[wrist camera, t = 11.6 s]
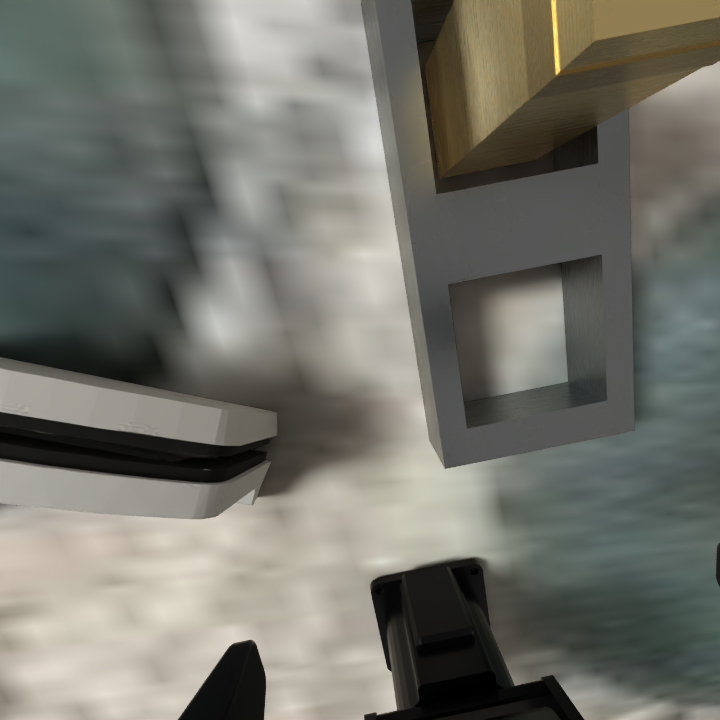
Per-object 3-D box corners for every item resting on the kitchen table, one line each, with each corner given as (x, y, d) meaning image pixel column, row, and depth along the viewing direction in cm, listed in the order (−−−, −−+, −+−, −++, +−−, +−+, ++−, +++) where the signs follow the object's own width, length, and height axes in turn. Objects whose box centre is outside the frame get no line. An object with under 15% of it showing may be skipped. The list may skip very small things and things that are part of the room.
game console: (-74, 440, 19) (-480, 480, 9) (-41, 347, 20) (-389, 292, 10) (264, 498, 21) (226, 584, 11) (283, 412, 22) (264, 420, 12)
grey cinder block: (592, 408, 21) (634, 430, 18) (429, 440, 21) (445, 468, 18) (572, -35, 16) (624, -102, 13) (361, 3, 16) (366, -56, 13)
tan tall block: (535, 161, 18) (835, -3, 7) (438, 179, 18) (592, 44, 7) (527, 47, 17) (864, -347, 6) (423, 66, 17) (578, -296, 6)
